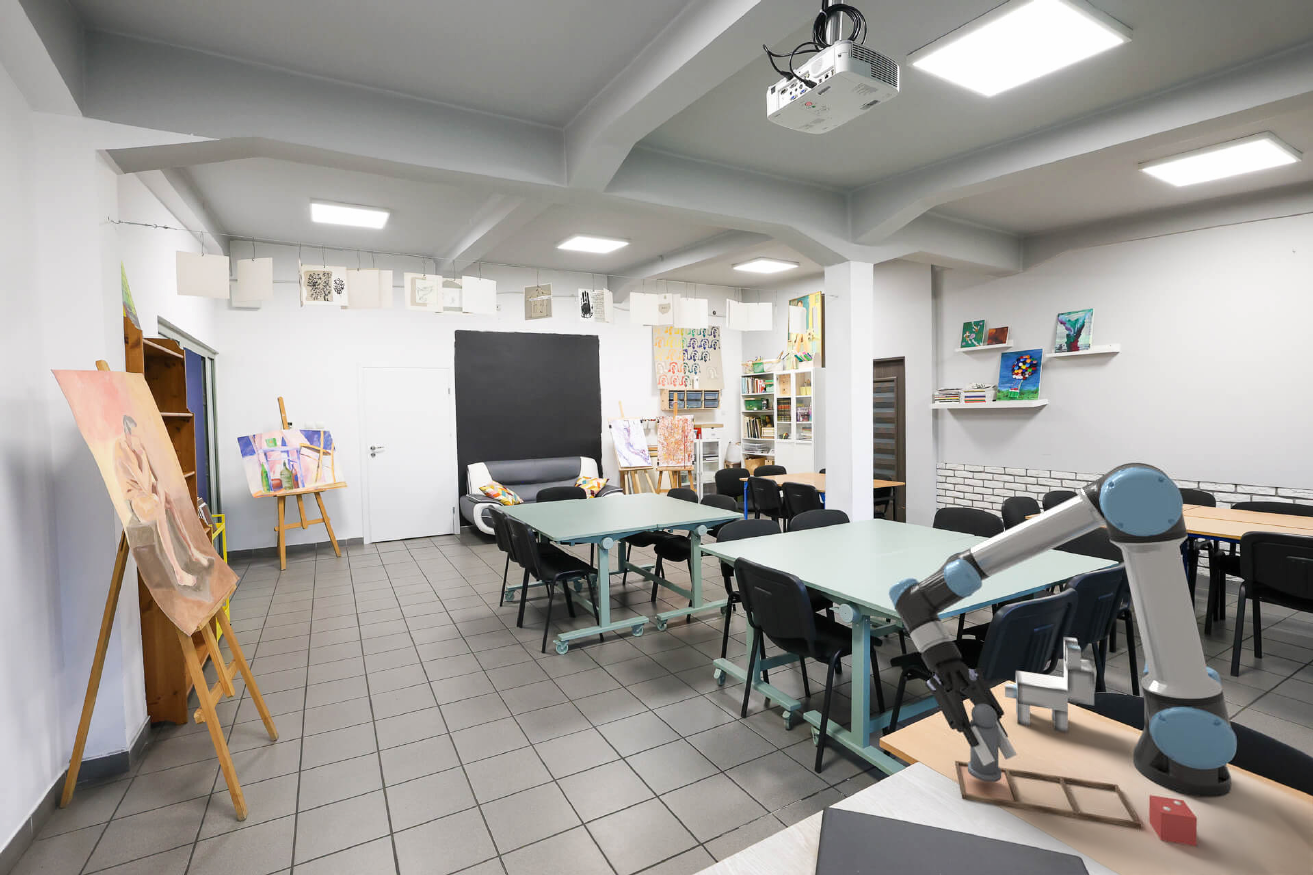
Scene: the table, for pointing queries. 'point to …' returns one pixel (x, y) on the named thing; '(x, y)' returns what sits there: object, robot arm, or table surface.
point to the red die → (1173, 820)
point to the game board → (1002, 796)
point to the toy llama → (1054, 688)
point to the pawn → (988, 730)
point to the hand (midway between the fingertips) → (1000, 759)
